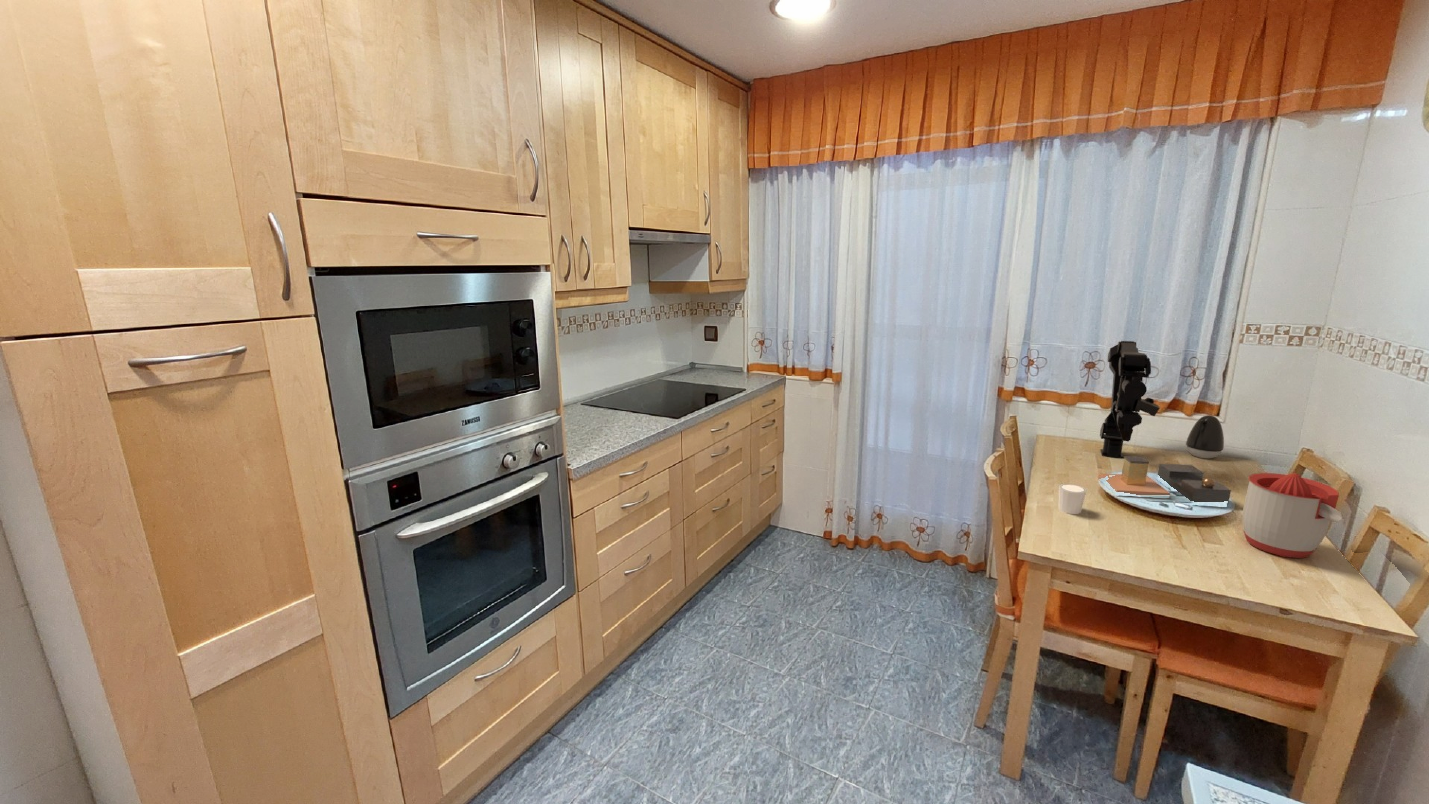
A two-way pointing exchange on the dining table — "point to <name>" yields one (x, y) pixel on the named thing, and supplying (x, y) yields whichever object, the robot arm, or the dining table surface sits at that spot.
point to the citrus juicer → (1288, 513)
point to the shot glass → (1071, 498)
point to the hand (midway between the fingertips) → (1122, 436)
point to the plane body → (1193, 483)
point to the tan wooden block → (1134, 470)
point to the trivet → (1134, 486)
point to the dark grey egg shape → (1206, 438)
